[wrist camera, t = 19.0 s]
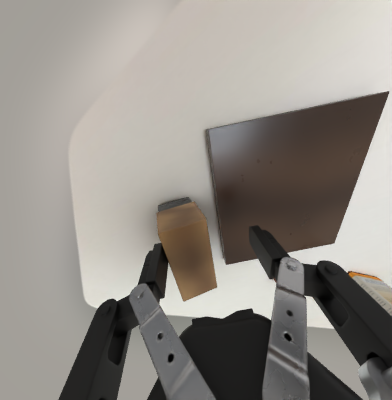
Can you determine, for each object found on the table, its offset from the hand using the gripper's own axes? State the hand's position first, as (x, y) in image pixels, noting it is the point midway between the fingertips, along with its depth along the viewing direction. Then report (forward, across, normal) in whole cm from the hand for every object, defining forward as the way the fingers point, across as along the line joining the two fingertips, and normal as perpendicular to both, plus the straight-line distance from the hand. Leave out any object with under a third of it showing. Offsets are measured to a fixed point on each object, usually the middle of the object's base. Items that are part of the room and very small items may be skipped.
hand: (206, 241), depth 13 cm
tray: (+5, -10, 0) cm, 11 cm away
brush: (+5, +3, +2) cm, 6 cm away
